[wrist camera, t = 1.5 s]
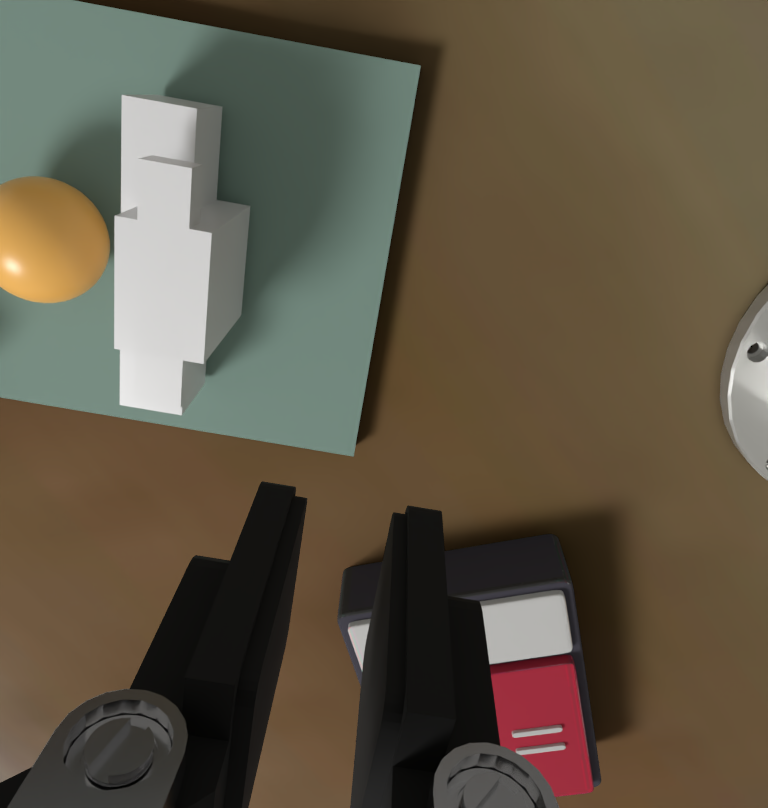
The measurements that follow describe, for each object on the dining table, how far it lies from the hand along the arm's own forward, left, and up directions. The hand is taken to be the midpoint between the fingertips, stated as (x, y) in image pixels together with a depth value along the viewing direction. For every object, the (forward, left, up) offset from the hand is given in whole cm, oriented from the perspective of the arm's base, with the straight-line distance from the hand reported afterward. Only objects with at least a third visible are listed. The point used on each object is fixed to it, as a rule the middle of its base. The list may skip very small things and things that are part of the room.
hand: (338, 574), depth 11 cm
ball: (+13, 0, -16) cm, 20 cm away
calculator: (-8, +20, -20) cm, 29 cm away
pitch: (+12, 0, -19) cm, 23 cm away
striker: (+7, 0, -18) cm, 19 cm away
